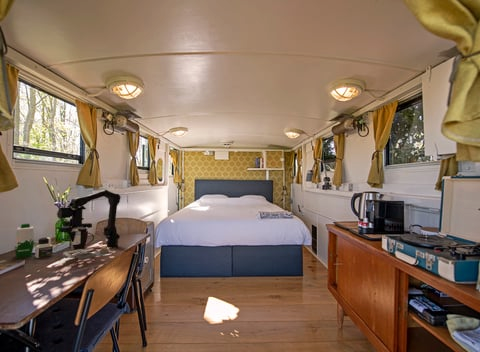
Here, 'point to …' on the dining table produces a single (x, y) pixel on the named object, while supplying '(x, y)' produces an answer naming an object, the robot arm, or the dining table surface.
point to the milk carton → (24, 241)
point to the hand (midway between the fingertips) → (76, 240)
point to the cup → (82, 241)
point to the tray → (74, 252)
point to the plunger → (104, 248)
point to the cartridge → (77, 238)
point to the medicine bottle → (44, 248)
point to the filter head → (92, 254)
